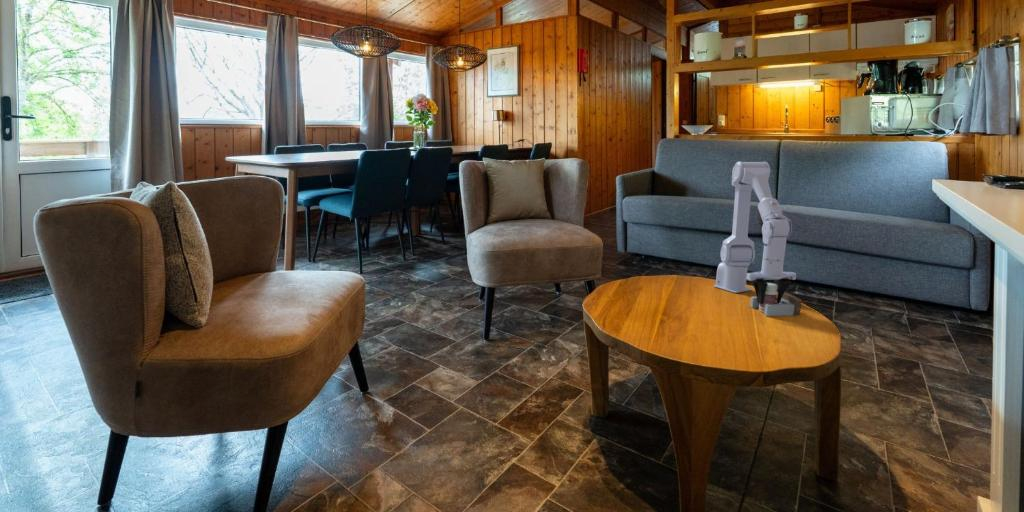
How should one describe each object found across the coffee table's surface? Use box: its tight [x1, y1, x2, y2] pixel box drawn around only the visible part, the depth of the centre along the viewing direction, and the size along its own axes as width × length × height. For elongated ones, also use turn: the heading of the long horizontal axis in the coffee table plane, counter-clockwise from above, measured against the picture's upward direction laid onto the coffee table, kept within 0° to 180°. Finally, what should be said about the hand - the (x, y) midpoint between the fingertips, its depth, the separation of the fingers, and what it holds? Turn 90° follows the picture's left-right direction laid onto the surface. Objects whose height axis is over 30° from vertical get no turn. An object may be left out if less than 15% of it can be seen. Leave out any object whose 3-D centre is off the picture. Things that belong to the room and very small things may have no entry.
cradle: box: [749, 296, 795, 317], centre depth 162 cm, size 8×9×3 cm
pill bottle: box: [758, 282, 778, 313], centre depth 161 cm, size 5×5×8 cm
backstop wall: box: [782, 291, 803, 317], centre depth 162 cm, size 2×9×5 cm, turn 6°
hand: (768, 302), depth 161 cm, fingers closed on pill bottle, 5 cm apart
